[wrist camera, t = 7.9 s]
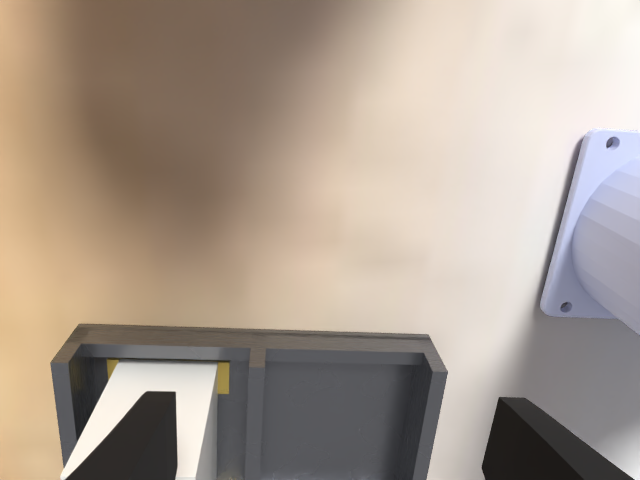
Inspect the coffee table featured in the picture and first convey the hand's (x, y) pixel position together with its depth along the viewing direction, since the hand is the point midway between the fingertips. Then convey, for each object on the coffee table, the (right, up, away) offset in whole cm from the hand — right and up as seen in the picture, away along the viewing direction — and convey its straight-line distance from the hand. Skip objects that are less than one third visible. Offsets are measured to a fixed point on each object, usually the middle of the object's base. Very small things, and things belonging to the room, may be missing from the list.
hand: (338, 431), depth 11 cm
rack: (-3, -5, +12) cm, 14 cm away
